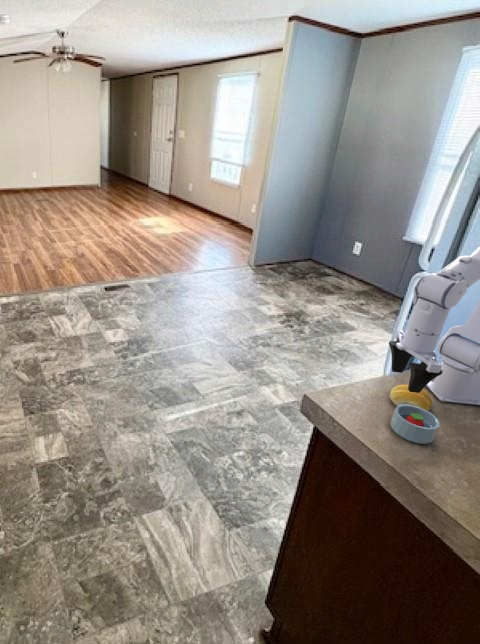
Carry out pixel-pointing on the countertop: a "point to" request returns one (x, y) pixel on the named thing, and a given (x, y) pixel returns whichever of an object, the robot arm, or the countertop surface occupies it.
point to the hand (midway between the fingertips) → (405, 381)
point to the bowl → (412, 430)
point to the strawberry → (415, 419)
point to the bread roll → (410, 397)
